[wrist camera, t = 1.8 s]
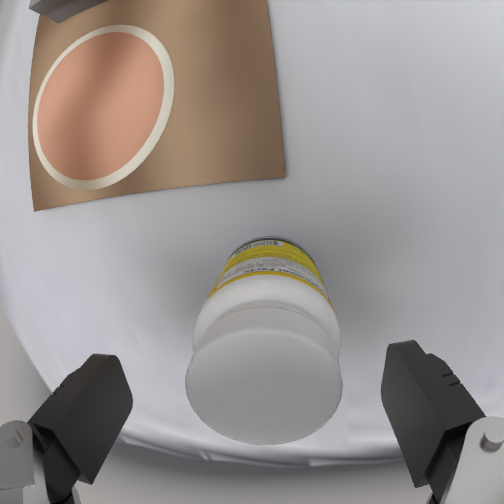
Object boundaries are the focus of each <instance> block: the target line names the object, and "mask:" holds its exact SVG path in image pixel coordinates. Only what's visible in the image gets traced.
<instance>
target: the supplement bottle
mask: <svg viewBox="0 0 504 504" xmlns="http://www.w3.org/2000/svg"><path fill="white" fill-rule="evenodd" d="M340 347H341V334H340V327H339V323H338V319H337V317H336V314H335V312H334V309H333V306H332V304H331V302H330V299H329V297H328V294H327V292H326V289H325V287H324V284H323V282H322V279H321V277H320V275H319V272H318V270H317V268H316V265H315V264H314V262H313V260H312V259H311V257H310V256H309V255H308V253H307V252H306V251H305V250H304V249H303V248H301V247H300V246H299V245H297V244H295V243H294V242H291V241H289V240H286V239H283V238H278V237H262V238H257V239H254V240H251V241H249V242H247V243H245V244H243V245H242V246H240V247H239V248H238V249H237V250H236V251H235V252H234V253H233V254H232V255H231V256H230V258H229V259H228V261H227V262H226V264H225V266H224V268H223V270H222V272H221V274H220V276H219V278H218V279H217V282H216V283H215V285H214V287H213V289H212V291H211V293H210V294H209V296H208V298H207V300H206V302H205V304H204V306H203V307H202V309H201V311H200V313H199V316H198V318H197V320H196V323H195V326H194V330H193V351H194V354H193V356H192V359H191V361H190V364H189V367H188V370H187V373H186V379H185V385H186V393H187V397H188V399H189V402H190V405H191V406H192V408H193V410H194V411H195V413H196V414H197V415H198V416H199V418H200V419H201V420H202V421H203V422H204V423H206V424H207V425H208V426H209V427H211V428H212V429H213V430H215V431H216V432H218V433H220V434H222V435H224V436H226V437H228V438H231V439H234V440H236V441H240V442H243V443H249V444H256V445H275V444H283V443H288V442H292V441H296V440H298V439H301V438H303V437H306V436H308V435H310V434H312V433H313V432H315V431H316V430H318V429H319V428H321V427H322V426H323V425H324V424H325V423H326V422H327V421H328V420H329V419H330V418H331V417H332V415H333V414H334V412H335V411H336V409H337V407H338V405H339V403H340V400H341V396H342V377H341V372H340V367H339V359H338V357H339V354H340Z"/></svg>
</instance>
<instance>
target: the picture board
mask: <svg viewBox="0 0 504 504" xmlns="http://www.w3.org/2000/svg"><path fill="white" fill-rule="evenodd" d="M29 9H31V10H33V11H35V12H37V13H39V14H40V17H39V21H38V27H37V32H36V38H35V44H34V51H33V59H32V67H31V77H30V90H29V112H28V142H29V165H30V179H31V189H32V198H33V207H34V212H35V211H40V210H45V209H50V208H54V207H59V206H64V205H69V204H75V203H80V202H85V201H91V200H97V199H102V198H108V197H114V196H121V195H127V194H134V193H140V192H147V191H155V190H162V189H170V188H178V187H186V186H195V185H204V184H213V183H223V182H234V181H245V180H258V179H271V178H285V165H284V153H283V141H282V130H281V119H280V109H279V99H278V89H277V80H276V71H275V62H274V53H273V45H272V37H271V29H270V22H269V14H268V7H267V0H31V2H30V5H29Z"/></svg>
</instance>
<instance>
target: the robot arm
mask: <svg viewBox="0 0 504 504" xmlns="http://www.w3.org/2000/svg"><path fill="white" fill-rule="evenodd" d="M381 398H382V403H383V406H384V409H385V411H386V413H387V416H388V418H389V421H390V423H391V426H392V428H393V431H394V433H395V436H396V438H397V441H398V443H399V446H400V448H401V451H402V454H403V456H404V459H405V462H406V464H407V467H408V469H409V472H410V475H411V478H412V481H413V483H414V486H415V488H418V487H421V486H424V485H428V484H430V487H431V489H432V493H431V494H430V496H429V498H428V500H427V503H426V504H504V419H503V418H500V417H492V416H491V417H486V416H485V414H484V413H483V411H482V410H481V409H480V407H479V406H478V405H477V403H476V402H475V400H474V399H473V398H472V396H471V395H470V394H469V392H468V391H467V390H466V388H465V387H464V386H463V384H460V380H459V379H458V378H457V377H456V375H453V371H452V370H451V369H450V368H449V366H448V365H447V364H446V362H445V361H443V360H441V359H440V358H438V357H437V356H435V355H433V354H432V353H430V354H425V352H424V351H423V350H422V348H421V347H420V346H419V345H418V343H417V342H416V341H415V340H410V341H405V342H399V343H393V344H390V345H389V346H388V348H387V353H386V360H385V366H384V373H383V379H382V385H381ZM132 405H133V398H132V393H131V390H130V388H129V385H128V383H127V380H126V377H125V374H124V372H123V369H122V366H121V363H120V361H119V359H118V357H116V356H115V355H105V354H92V355H91V356H90V357H89V358H88V359H87V361H86V362H85V363H84V364H83V365H82V366H81V367H80V368H79V369H77V370H76V371H74V372H72V373H71V374H69V375H68V376H67V377H66V378H65V379H64V381H63V382H62V383H61V384H60V387H57V388H56V390H55V391H54V392H53V395H52V394H51V395H50V397H49V398H48V399H47V400H46V401H45V402H44V403H43V404H42V406H41V407H40V408H39V409H38V410H37V412H36V413H35V414H34V415H33V416H32V417H31V419H30V420H29V421H28V422H27V423H26V422H23V421H18V420H15V421H10V422H7V423H6V424H3V425H2V426H1V427H0V504H81V501H80V498H79V494H78V491H77V489H76V487H75V486H74V484H75V483H76V481H77V480H79V481H82V482H85V483H88V484H91V485H92V484H93V482H94V480H95V478H96V476H97V474H98V472H99V470H100V468H101V466H102V464H103V463H104V460H105V459H106V457H107V455H108V453H109V451H110V449H111V447H112V446H113V444H114V442H115V440H116V438H117V436H118V434H119V433H120V431H121V429H122V427H123V425H124V423H125V422H126V420H127V418H128V416H129V414H130V412H131V410H132Z"/></svg>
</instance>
